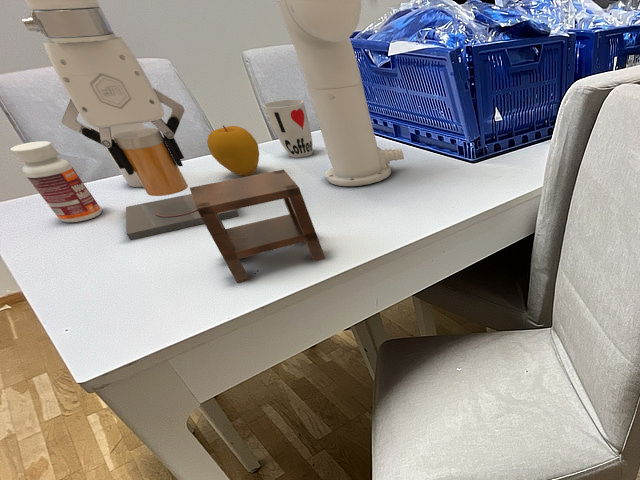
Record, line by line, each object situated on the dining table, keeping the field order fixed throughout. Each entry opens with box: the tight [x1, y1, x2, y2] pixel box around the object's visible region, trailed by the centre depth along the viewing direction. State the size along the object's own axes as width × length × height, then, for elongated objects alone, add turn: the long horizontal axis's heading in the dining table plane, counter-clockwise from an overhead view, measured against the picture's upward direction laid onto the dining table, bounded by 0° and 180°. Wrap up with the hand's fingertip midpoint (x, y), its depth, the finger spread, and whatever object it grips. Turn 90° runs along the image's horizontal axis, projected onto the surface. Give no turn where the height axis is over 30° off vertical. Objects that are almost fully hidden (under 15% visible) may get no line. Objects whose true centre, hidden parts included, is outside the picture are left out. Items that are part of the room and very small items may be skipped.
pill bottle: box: [10, 140, 103, 223], centre depth 75 cm, size 6×6×11 cm
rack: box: [189, 168, 326, 283], centre depth 62 cm, size 12×9×10 cm
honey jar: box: [113, 127, 189, 197], centre depth 73 cm, size 6×6×8 cm
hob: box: [125, 193, 239, 241], centre depth 78 cm, size 16×14×1 cm
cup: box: [262, 99, 314, 158], centre depth 100 cm, size 8×8×10 cm
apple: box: [206, 124, 260, 177], centre depth 91 cm, size 9×9×9 cm
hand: (155, 167), depth 73 cm, fingers closed on honey jar, 6 cm apart
